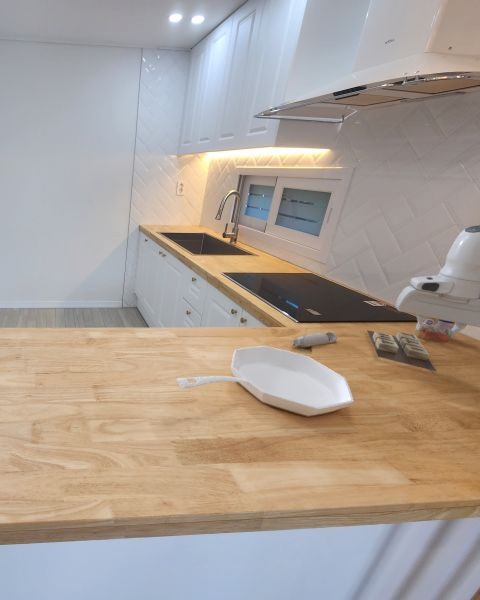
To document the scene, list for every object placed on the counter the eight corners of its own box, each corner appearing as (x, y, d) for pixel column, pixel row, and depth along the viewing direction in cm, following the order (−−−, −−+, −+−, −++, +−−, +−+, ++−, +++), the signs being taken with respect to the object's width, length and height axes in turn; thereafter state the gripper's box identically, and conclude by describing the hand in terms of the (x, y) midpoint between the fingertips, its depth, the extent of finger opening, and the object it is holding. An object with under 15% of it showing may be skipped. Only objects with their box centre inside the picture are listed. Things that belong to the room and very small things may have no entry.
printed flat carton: (413, 340, 112) (415, 334, 111) (426, 360, 99) (430, 354, 99) (395, 336, 114) (398, 331, 113) (406, 355, 101) (409, 349, 101)
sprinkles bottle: (414, 339, 114) (431, 303, 109) (408, 334, 118) (425, 298, 113) (431, 342, 113) (450, 306, 108) (425, 337, 117) (442, 301, 112)
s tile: (440, 336, 95) (443, 329, 95) (445, 342, 92) (449, 335, 91) (419, 331, 98) (422, 325, 97) (423, 337, 94) (427, 330, 93)
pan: (371, 412, 77) (382, 389, 75) (211, 447, 64) (218, 421, 62) (280, 355, 100) (286, 336, 97) (149, 373, 87) (152, 352, 85)
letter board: (414, 343, 112) (415, 340, 112) (435, 373, 94) (437, 371, 94) (366, 332, 118) (366, 330, 118) (377, 358, 100) (378, 356, 100)
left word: (389, 340, 111) (392, 335, 110) (396, 353, 103) (399, 347, 102) (372, 336, 113) (374, 331, 112) (377, 348, 105) (380, 342, 104)
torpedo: (324, 338, 112) (331, 320, 109) (339, 345, 108) (346, 326, 105) (284, 344, 106) (290, 326, 103) (298, 352, 102) (304, 333, 99)
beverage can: (431, 339, 115) (451, 298, 110) (420, 332, 120) (438, 293, 115) (450, 342, 114) (471, 301, 108) (438, 334, 119) (458, 295, 113)
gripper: (508, 292, 87) (481, 340, 92) (404, 276, 97) (385, 319, 102) (520, 299, 82) (491, 349, 87) (410, 281, 91) (390, 327, 97)
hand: (433, 333), depth 94 cm, fingers closed on s tile, 4 cm apart
